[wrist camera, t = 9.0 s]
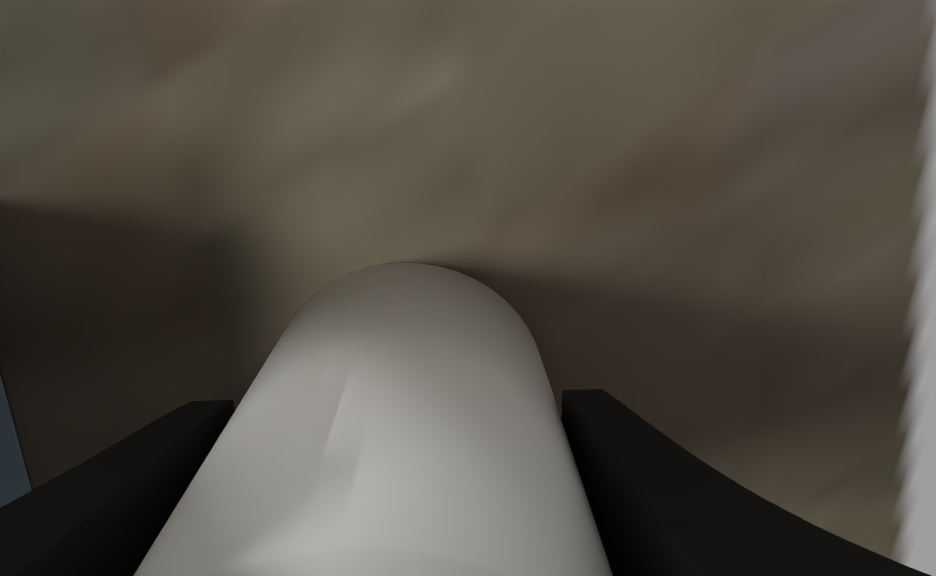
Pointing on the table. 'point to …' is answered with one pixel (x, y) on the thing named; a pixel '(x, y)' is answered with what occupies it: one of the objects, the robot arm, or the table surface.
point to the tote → (10, 457)
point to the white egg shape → (390, 447)
